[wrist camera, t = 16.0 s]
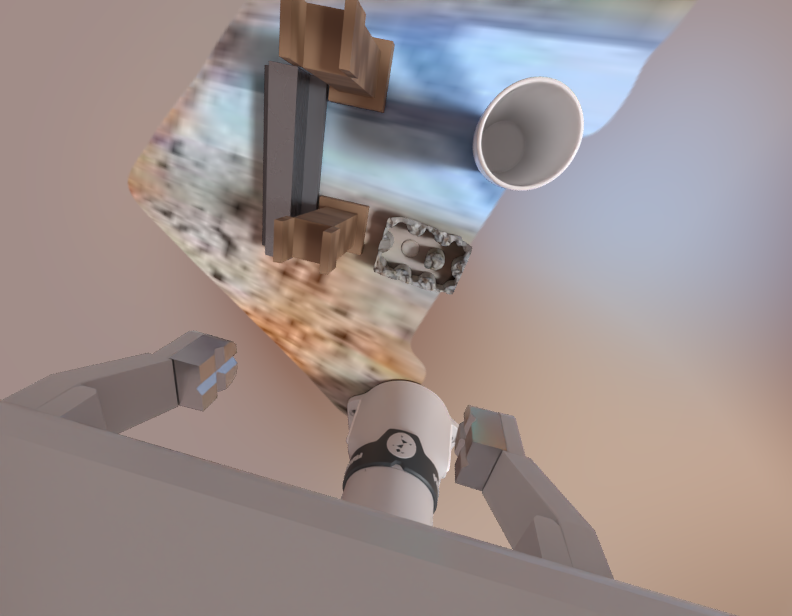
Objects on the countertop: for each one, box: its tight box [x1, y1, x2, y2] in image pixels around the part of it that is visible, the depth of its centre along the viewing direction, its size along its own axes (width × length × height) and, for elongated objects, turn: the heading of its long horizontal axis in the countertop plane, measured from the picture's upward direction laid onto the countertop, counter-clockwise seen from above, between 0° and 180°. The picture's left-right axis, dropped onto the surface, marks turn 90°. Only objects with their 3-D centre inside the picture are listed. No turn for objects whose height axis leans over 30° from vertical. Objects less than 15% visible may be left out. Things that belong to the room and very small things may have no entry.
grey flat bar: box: [262, 65, 328, 246], centre depth 38 cm, size 20×7×1 cm, turn 169°
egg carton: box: [374, 217, 472, 294], centre depth 39 cm, size 11×8×4 cm
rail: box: [265, 61, 310, 260], centre depth 37 cm, size 20×3×3 cm, turn 169°
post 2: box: [273, 196, 369, 275], centre depth 35 cm, size 6×6×12 cm
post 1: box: [279, 0, 394, 113], centre depth 28 cm, size 6×6×12 cm
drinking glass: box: [473, 77, 584, 191], centre depth 27 cm, size 7×7×15 cm
